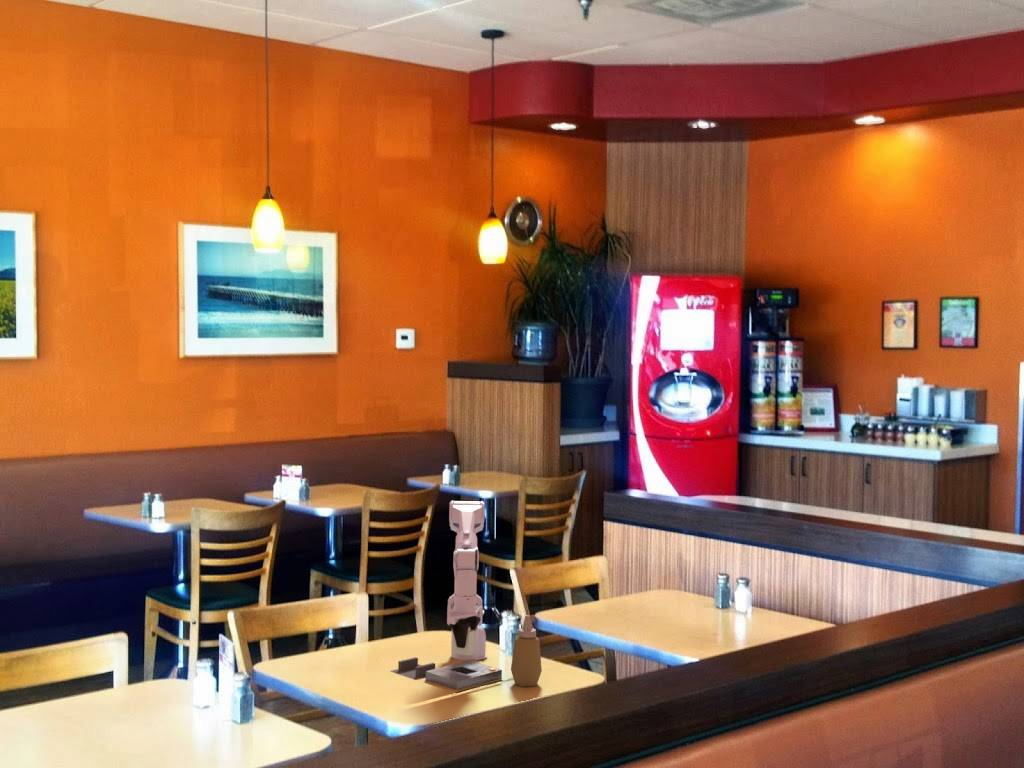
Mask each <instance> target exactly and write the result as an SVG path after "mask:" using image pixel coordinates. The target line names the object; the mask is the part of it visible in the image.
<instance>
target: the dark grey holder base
mask: <svg viewBox="0 0 1024 768" xmlns="http://www.w3.org/2000/svg"><path fill="white" fill-rule="evenodd" d="M397 663H398V666H397V667H398V668H397V669H393V670H390V672H392V673H394V674H398V675H401V676H403V677H406V678H409V679H411V680H418V679H423V678H426V671H429V670H433V669H436V663H435V662H431V663H426V664H422V665H421V664H419V657H416V656H415V657H411V658H406V659H402V660H398V662H397Z"/></svg>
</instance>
